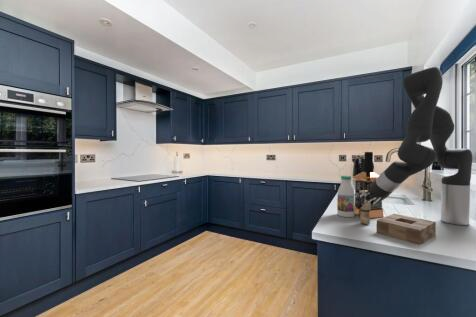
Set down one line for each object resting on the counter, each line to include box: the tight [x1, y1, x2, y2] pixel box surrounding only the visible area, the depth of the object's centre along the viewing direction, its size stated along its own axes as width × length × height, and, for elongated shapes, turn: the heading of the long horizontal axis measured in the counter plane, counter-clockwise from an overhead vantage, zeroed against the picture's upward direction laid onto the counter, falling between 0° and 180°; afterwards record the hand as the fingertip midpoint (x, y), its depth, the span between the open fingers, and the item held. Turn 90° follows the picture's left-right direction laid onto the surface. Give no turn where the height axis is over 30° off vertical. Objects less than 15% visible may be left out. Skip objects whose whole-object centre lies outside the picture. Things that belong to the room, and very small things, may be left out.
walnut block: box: [376, 213, 437, 245], centre depth 87 cm, size 16×14×5 cm
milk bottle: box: [336, 175, 355, 218], centre depth 111 cm, size 8×8×20 cm
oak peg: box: [359, 190, 371, 225], centre depth 98 cm, size 4×4×14 cm
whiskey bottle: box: [354, 151, 384, 219], centre depth 112 cm, size 10×10×32 cm
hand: (361, 206), depth 100 cm, fingers closed on oak peg, 4 cm apart
